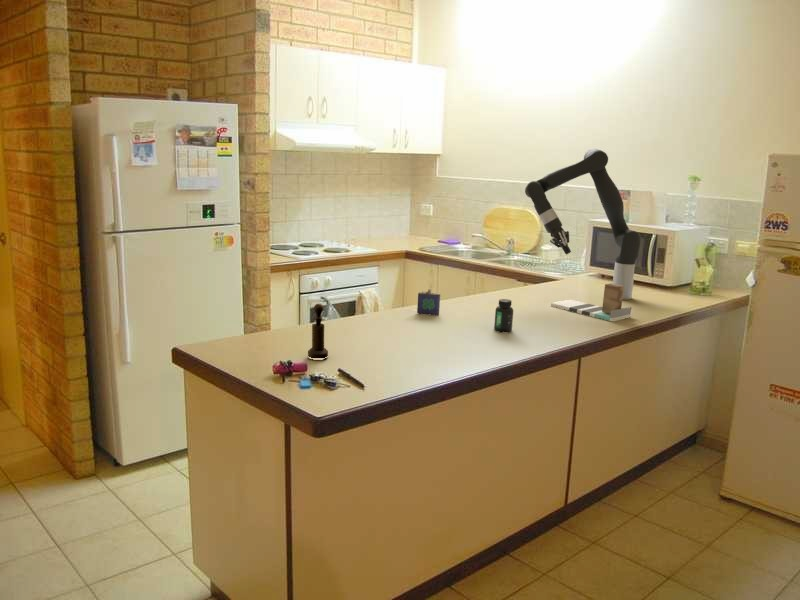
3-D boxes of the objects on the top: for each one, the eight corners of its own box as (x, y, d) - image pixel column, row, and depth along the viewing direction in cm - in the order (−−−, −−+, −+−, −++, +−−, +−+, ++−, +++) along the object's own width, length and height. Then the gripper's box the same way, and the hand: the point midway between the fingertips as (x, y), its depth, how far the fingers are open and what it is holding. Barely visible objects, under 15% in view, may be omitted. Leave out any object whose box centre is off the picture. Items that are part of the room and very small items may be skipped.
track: (569, 302, 320) (570, 293, 319) (630, 317, 297) (631, 307, 296) (550, 306, 311) (551, 296, 310) (611, 321, 288) (613, 311, 287)
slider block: (608, 310, 300) (611, 283, 297) (620, 313, 295) (624, 285, 292) (601, 311, 296) (605, 284, 294) (614, 314, 292) (617, 287, 289)
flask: (439, 314, 288) (440, 288, 285) (439, 315, 285) (440, 290, 282) (417, 312, 288) (418, 287, 286) (416, 314, 285) (418, 289, 283)
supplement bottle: (498, 333, 263) (500, 302, 260) (491, 328, 269) (493, 298, 266) (514, 332, 264) (517, 302, 262) (507, 327, 271) (509, 298, 268)
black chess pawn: (308, 354, 226) (309, 301, 222) (328, 354, 227) (329, 301, 223) (307, 360, 220) (308, 306, 216) (327, 361, 220) (328, 306, 216)
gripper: (548, 221, 311) (566, 254, 311) (564, 213, 320) (582, 245, 319) (536, 227, 317) (554, 260, 316) (552, 220, 325) (570, 252, 325)
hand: (568, 253), depth 318 cm, fingers closed
